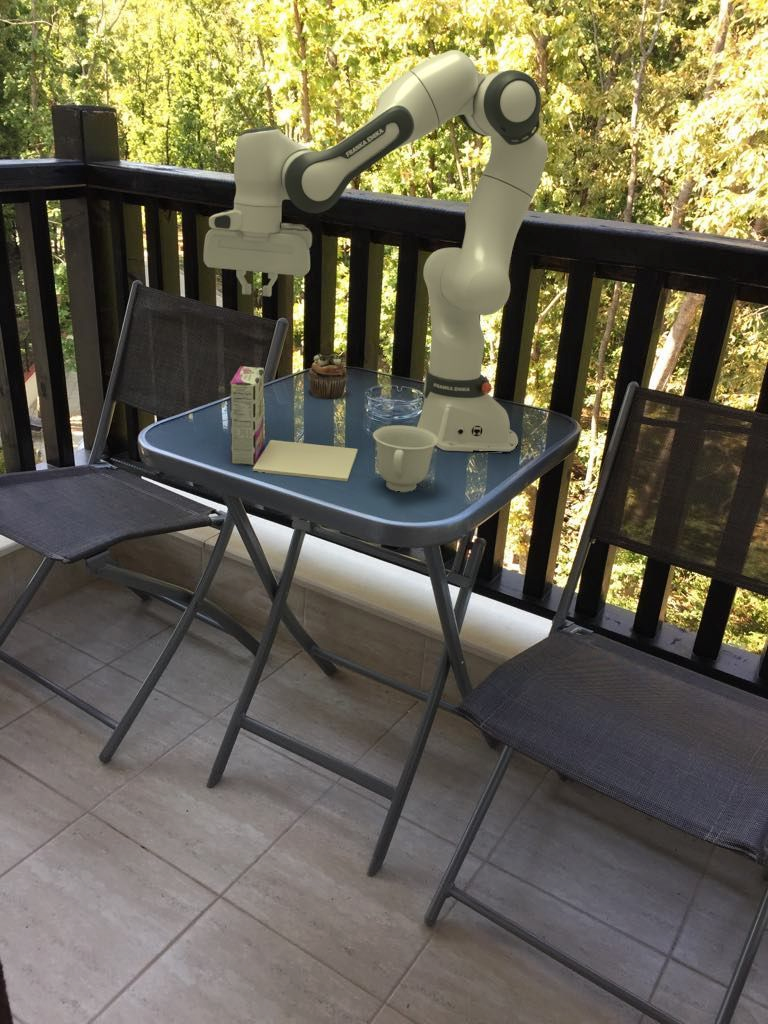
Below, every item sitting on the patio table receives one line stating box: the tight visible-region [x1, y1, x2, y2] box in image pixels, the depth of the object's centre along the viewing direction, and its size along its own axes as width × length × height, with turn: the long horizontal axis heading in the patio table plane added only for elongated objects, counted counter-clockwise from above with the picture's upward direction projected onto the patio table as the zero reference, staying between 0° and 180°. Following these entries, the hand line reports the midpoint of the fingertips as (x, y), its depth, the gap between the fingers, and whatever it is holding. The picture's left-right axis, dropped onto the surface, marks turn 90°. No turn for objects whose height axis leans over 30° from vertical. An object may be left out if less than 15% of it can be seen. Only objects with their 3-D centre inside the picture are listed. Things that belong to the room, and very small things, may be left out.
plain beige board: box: [252, 439, 358, 482], centre depth 169 cm, size 18×16×1 cm
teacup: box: [372, 424, 439, 493], centre depth 158 cm, size 12×15×10 cm
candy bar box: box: [229, 365, 265, 466], centre depth 166 cm, size 11×5×16 cm, turn 179°
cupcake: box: [307, 352, 348, 400], centre depth 208 cm, size 10×10×10 cm
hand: (256, 294), depth 167 cm, fingers open, 3 cm apart
